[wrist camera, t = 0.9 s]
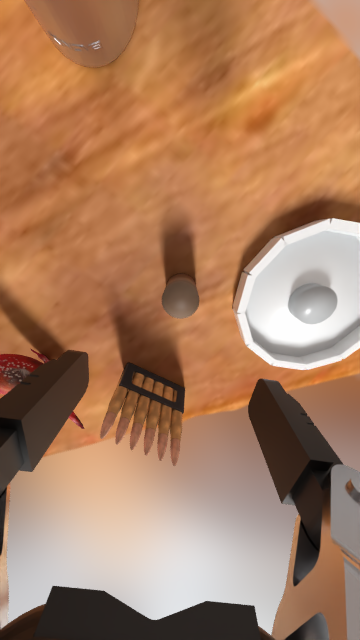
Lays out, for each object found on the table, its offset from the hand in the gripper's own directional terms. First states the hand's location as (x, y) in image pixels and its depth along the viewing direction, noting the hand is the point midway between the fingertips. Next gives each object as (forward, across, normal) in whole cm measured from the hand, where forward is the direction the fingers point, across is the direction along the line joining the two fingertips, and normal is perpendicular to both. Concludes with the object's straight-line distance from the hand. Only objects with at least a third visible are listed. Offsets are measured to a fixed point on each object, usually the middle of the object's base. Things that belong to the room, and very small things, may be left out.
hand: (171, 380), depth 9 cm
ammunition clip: (+19, +2, +16) cm, 24 cm away
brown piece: (+18, 0, 0) cm, 18 cm away
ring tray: (+18, -17, -2) cm, 25 cm away
